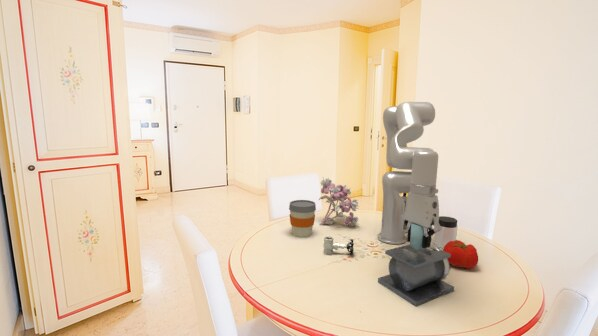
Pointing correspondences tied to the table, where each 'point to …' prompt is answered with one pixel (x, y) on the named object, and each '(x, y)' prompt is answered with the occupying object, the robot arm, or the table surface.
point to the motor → (417, 273)
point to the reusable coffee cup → (302, 217)
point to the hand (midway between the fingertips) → (418, 243)
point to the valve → (336, 246)
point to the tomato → (461, 254)
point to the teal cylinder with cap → (416, 236)
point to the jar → (446, 231)
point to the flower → (338, 195)
